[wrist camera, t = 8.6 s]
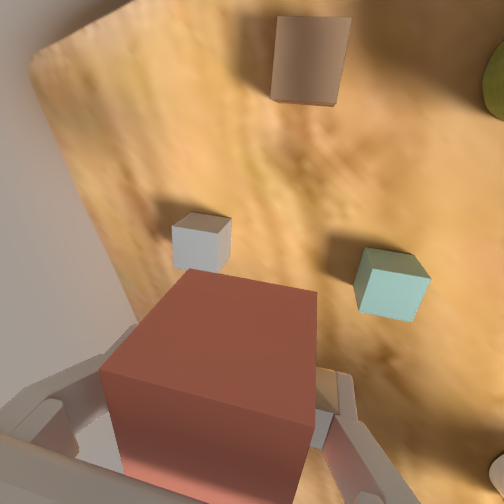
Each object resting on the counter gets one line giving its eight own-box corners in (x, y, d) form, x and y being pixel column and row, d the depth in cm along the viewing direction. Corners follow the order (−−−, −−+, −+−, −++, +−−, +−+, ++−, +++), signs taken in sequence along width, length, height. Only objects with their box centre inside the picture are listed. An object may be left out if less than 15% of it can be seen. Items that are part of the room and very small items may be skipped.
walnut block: (345, 38, 22) (352, 17, 18) (333, 106, 24) (336, 102, 20) (285, 36, 23) (277, 16, 19) (278, 102, 25) (270, 98, 21)
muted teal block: (414, 254, 28) (431, 278, 24) (398, 293, 31) (411, 322, 26) (364, 246, 29) (372, 268, 25) (353, 285, 31) (358, 311, 27)
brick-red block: (317, 291, 10) (315, 427, 5) (296, 384, 12) (283, 533, 8) (189, 268, 11) (98, 368, 6) (192, 358, 13) (126, 480, 9)
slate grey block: (232, 218, 31) (217, 233, 27) (230, 256, 34) (216, 276, 29) (191, 211, 32) (171, 225, 28) (192, 249, 34) (173, 267, 30)
